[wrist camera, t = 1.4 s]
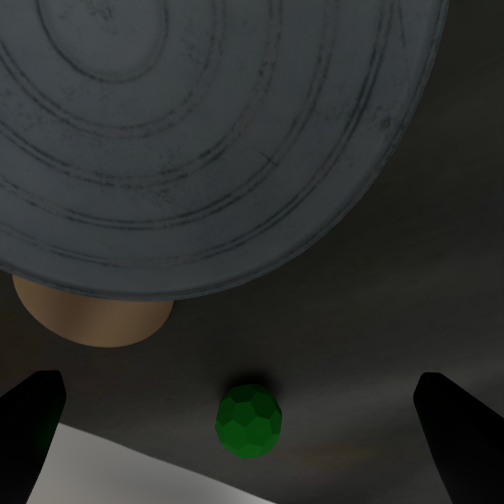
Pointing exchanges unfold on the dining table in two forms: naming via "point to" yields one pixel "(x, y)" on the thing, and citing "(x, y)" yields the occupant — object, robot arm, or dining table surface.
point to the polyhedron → (248, 421)
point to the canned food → (195, 133)
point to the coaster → (92, 315)
